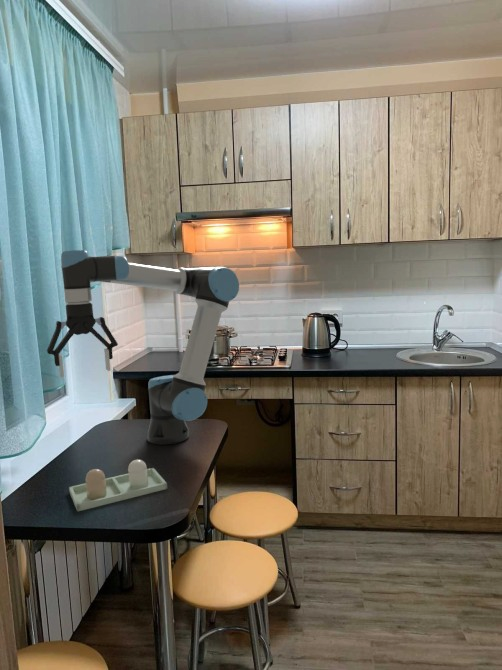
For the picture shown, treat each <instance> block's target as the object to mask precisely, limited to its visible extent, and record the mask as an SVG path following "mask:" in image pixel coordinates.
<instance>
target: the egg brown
mask: <svg viewBox="0 0 502 670" xmlns="http://www.w3.org/2000/svg"><path fill="white" fill-rule="evenodd" d="M105 479H106V476H105V473H104V471H103V470H101V469H98V468H93V469H90V470H89V471H88V472H87V473H86V475H85V480H84V481H85V483H86V491H87V498H88V499H89V500H96V499H100V498H104V497H105V496H106V495H107V491H106V481H105Z"/></svg>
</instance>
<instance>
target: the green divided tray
mask: <svg viewBox="0 0 502 670" xmlns="http://www.w3.org/2000/svg"><path fill="white" fill-rule="evenodd" d="M147 475H148V486H147V487H145V488H141V489H137V490H135V489H131V488H130V483H129V474H128V473H125V474H120V475H116V476H111V477H107V478H106V477H105V481H106V491H107V495H106V496H105V497H104V498H100V499H96V500H89V499H88V498H87V491H86V482H85V483H81V484H77V485H76V484H75V485H72V486H69V487H68V489H69V490H68V491H69V495H70V497H71V499H72V502H73V505H74V507H75V509H76V512H80V511H85V510H91V509H94V508H97V507H101V506H105V505H109V504H112V503H116V502H120V501H125V500H128V499H132V498H136V497H141V496H144V495H148V494H152V493H157V492H160V491H164V490H168V483H167V481H165V479H164V478H163V477H162V476H161V475H160V473H159V472H158V471H157V470H156V469H155V468H154V467H150V468H147Z"/></svg>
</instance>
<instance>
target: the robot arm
mask: <svg viewBox="0 0 502 670" xmlns="http://www.w3.org/2000/svg"><path fill="white" fill-rule="evenodd" d="M60 261H61V263H60V265H61V266H60V267H61V273H62V280H63V281H62V282H63V291H64V301H65V303H66V304H65V312H66V321H60V320H56V321H55V330H54V332H53V334H52V337H51V339H50V342H49V344H48V347H47V349H46V352H47V354H48V355H53V357H54V358H53V359H54V365H55V367H58V370H59V371H58V372H59V377H60V378H64V377H65V375H64V365H63V357H62V356H63V355H62V353H61V352H62V350H63V349H64V348H65V346H66V345H67V343H68V342H69V341H70V339H71V338H72V337H74V335H76V336H79V335H82V334H84V335H88V334H89V333H91V334H92V335H93V336H94V337H95V338H96V339H97V340H98V341H100V342H101V343H102V345H104V346H105V347H106V348H104V352H103V353H104V361H105V370H107V371H109V372H110V371H111V362H110V360H113V358H114V357H113V348H115V347H118V345H119V344H118V342H117V340H116V338H115V337H114V335H113V333H112V332H111V331H110V329H109V328H108V326H107V324H106V321H105V317H102V316H100V317H97V318H95V317H94V309H93V303H91V302H92V300H93V297H92V290H91V289H92V288H91V283H94V282H101V283H110V284H111V283H112V284H116V285H125V286H135V287H143V288H149V289H157V290H167V291H173V292H174V293H175V294H176V295H184V296H187V297H191V298H195V299H194V300H195V303H196V305H197V309H196V312H195V314H194V319H193V322H192V324H191V330H190V333H189V336H188V340H187V343H186V347H185V350H184V354H183V357H182V361H181V364H180V368H179V371H178V373H176V374H170V375H162V376H161V375H160V376H157V377H153V378H150V379H149V381H148V383H147V384H148V386H147V387H148V388H147V391H148V399H149V411H150V422H149V426H148V430H147V434H146V435H147V436H146V437H147V442H149V443H150V444H153V445H159V446H160V445H161V446H162V445H165V446H166V445H174V444H179V443H182V442H184V441H186V440H187V439H188V438H189V437H190V429H189V427H188V426H187V423H186V421H187V422H191V421H192V422H193V421H194V420H198V418H200V417H201V416H202V415H203V414H204V413H205V411H206V409H207V406H208V397H207V395H206V393H205V391H206V387H207V384H206V382H205V379H204V377H205V374H206V370H207V366H208V362H209V360H210V355H211V353H212V349H213V346H214V341H215V339H216V334H217V332H218V328H219V324H220V320H221V316H222V313H223V312H225V311H226V310H228V307H229V305H230V304H229V303H230V302H231V301H232V300H233V299H235V298H236V297H237V296H238V294H239V291H240V283H239V279H238V276H237V275H236V273H235V272H234V271H233V270H232V269H230V268H228V267H225V266H208V267H205V266H204V267H203V266H202V267H194V268H193V267H191V268H190V267H189V268H185V267H177V269H173V268H167V267H161V266H153V265H145V264H139V263H135V262H134V263H133V262H129V261H128V259H127V257H125V256H123V255H104V256H102V255H99V256H89V254H88V251H87V250H85V249H80V250H79V249H77V250H75V249H74V250H73V249H72V250H71V249H70V250H64V251H62V252H61V256H60ZM96 324H97V325H99V326H100V328H101V329H102V330H103V332H104V333H105V335H106V337H107V339H108V340H109V341H107V339H105V338H104V337H103V336H102V335H101V334H100V333H99V332H98V331H97V330H96V329H95V328H94V327H95V325H96ZM65 326H66V327H67V329H68V331H67V332H66V334H65V335H64V337H63V338H62V339H61V341H60V342H59V344H58V345H57V346H56V344H57V342H58V339H59V336H60V334H61V332H62V330H63V329H64V327H65ZM55 347H56V348H55Z"/></svg>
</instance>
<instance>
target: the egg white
mask: <svg viewBox="0 0 502 670" xmlns="http://www.w3.org/2000/svg"><path fill="white" fill-rule="evenodd" d="M147 469H148V468H147V464H146V462H145V461H144V460H143V459H134V460H132V461H131V462H130V463H129V465H128V467H127V471H128V473H127V474H129V483H130V488H131V489H135V490H137V489H141V488H145V487H147V486H148V475H147Z"/></svg>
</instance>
